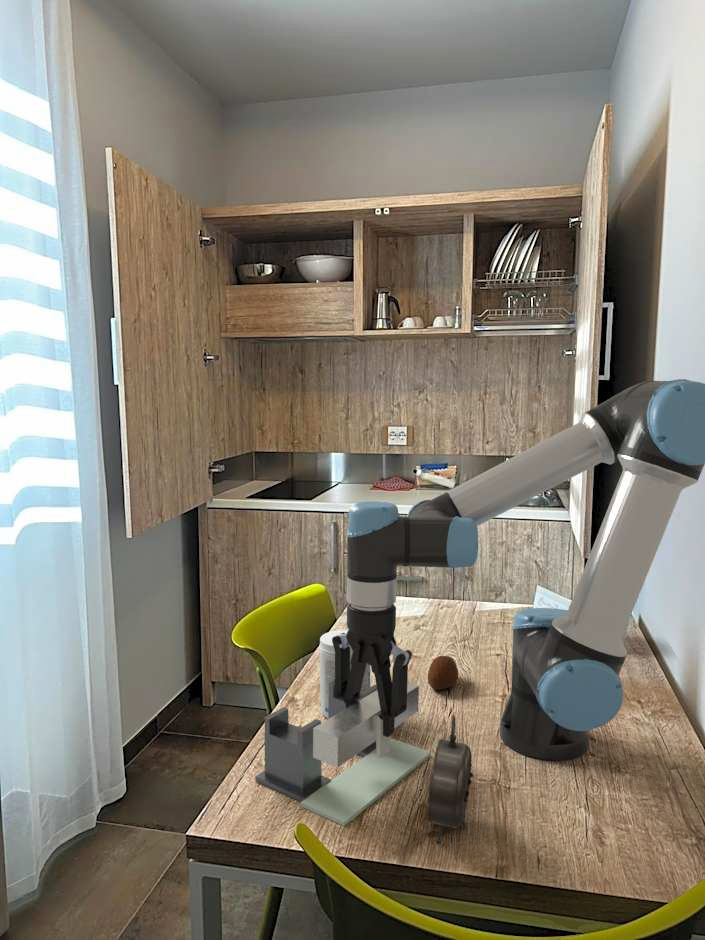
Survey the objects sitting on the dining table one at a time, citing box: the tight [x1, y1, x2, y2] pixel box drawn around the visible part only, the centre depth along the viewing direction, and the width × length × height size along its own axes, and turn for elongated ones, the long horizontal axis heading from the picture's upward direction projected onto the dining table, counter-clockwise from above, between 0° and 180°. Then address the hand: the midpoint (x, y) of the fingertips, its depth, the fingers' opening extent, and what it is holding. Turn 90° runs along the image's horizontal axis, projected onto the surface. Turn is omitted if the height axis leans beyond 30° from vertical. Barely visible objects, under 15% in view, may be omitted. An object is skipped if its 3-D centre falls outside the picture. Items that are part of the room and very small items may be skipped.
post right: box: [327, 680, 377, 758], centre depth 122 cm, size 10×6×10 cm, turn 54°
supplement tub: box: [318, 629, 371, 719], centre depth 133 cm, size 10×10×15 cm
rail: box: [313, 681, 420, 768], centre depth 110 cm, size 4×22×4 cm, turn 144°
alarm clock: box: [427, 714, 474, 845], centre depth 98 cm, size 11×5×16 cm, turn 164°
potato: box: [427, 655, 459, 690], centre depth 146 cm, size 6×12×6 cm, turn 161°
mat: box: [300, 737, 431, 827], centre depth 111 cm, size 8×24×1 cm, turn 144°
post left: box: [254, 706, 332, 803], centre depth 109 cm, size 10×6×10 cm, turn 54°
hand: (369, 748), depth 110 cm, fingers closed on rail, 4 cm apart
